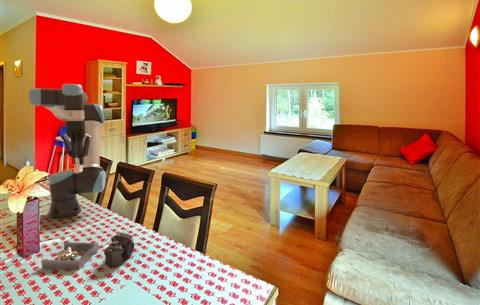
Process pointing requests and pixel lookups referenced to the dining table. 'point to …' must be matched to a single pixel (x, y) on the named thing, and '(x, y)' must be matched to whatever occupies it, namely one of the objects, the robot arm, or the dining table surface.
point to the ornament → (67, 254)
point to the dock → (72, 264)
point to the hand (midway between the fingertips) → (79, 171)
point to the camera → (119, 249)
